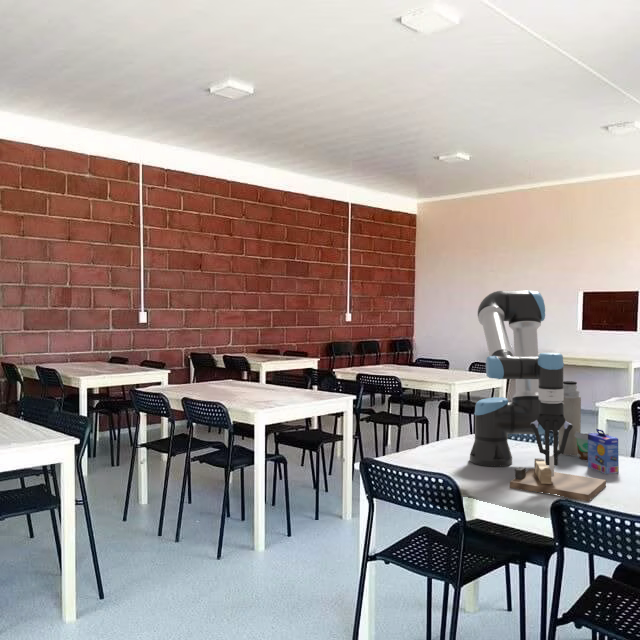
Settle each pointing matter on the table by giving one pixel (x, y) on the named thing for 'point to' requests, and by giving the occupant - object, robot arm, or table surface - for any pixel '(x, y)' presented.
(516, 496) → the table surface
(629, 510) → the table surface
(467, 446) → the table surface
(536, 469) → the stool leg
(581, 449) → the food container
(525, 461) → the table surface
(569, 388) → the thermos bottle
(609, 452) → the ink cartridge box
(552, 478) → the board
